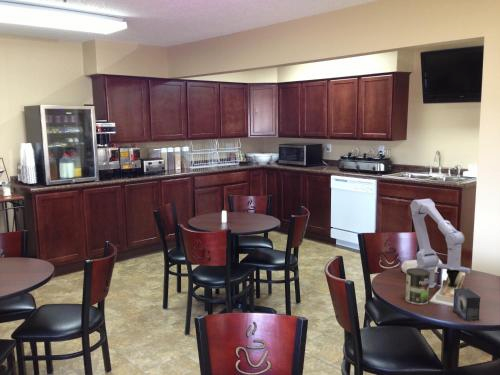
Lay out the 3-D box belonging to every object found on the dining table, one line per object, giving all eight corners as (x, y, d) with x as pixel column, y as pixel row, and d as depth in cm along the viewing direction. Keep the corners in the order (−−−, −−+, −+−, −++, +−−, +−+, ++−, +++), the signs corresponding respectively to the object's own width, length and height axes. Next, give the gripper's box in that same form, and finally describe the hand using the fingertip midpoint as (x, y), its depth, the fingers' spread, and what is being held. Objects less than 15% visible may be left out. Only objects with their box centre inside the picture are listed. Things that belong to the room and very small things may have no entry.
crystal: (406, 269, 249) (447, 267, 252) (401, 259, 254) (442, 257, 257) (402, 278, 253) (443, 276, 256) (397, 268, 259) (438, 266, 262)
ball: (444, 291, 214) (445, 295, 216) (443, 296, 212) (443, 300, 214) (451, 292, 212) (452, 296, 214) (450, 297, 210) (450, 301, 212)
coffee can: (433, 302, 213) (435, 272, 211) (417, 306, 208) (418, 276, 206) (416, 294, 222) (417, 266, 220) (400, 298, 217) (401, 269, 215)
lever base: (429, 302, 213) (430, 290, 212) (442, 286, 233) (443, 275, 232) (459, 308, 205) (460, 296, 204) (470, 292, 225) (471, 280, 224)
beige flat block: (435, 299, 214) (436, 294, 214) (440, 294, 220) (440, 289, 220) (456, 303, 209) (456, 298, 209) (460, 298, 215) (460, 293, 215)
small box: (451, 310, 203) (453, 288, 202) (465, 310, 204) (467, 287, 202) (464, 321, 193) (466, 297, 191) (479, 320, 193) (481, 296, 192)
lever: (441, 298, 220) (441, 290, 217) (450, 276, 231) (450, 269, 229) (457, 302, 216) (457, 293, 213) (465, 279, 227) (465, 271, 225)
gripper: (435, 256, 219) (434, 284, 221) (469, 261, 211) (467, 290, 212) (439, 253, 225) (438, 280, 226) (472, 258, 216) (470, 286, 218)
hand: (452, 285), depth 220 cm, fingers closed, pressing on lever
